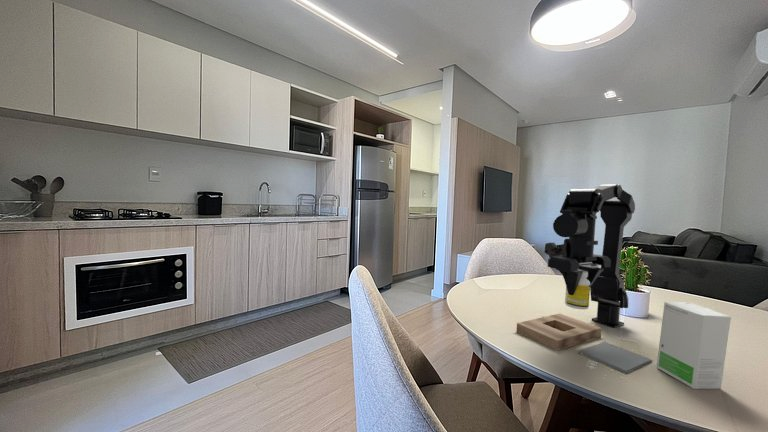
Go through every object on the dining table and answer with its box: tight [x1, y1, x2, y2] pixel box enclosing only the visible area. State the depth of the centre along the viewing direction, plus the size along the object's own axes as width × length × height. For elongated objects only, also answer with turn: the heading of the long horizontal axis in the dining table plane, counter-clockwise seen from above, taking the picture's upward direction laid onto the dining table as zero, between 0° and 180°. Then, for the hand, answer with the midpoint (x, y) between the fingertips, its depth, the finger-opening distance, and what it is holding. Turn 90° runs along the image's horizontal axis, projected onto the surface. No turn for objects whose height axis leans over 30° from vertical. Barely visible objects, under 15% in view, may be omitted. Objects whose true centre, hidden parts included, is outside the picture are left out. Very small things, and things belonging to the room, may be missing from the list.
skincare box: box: [656, 301, 732, 390], centre depth 65 cm, size 8×7×16 cm
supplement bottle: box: [564, 270, 591, 310], centre depth 81 cm, size 5×5×10 cm
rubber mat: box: [578, 341, 653, 374], centre depth 74 cm, size 12×10×1 cm
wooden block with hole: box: [516, 313, 602, 351], centre depth 86 cm, size 20×12×2 cm, turn 118°
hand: (577, 293), depth 81 cm, fingers closed on supplement bottle, 5 cm apart
